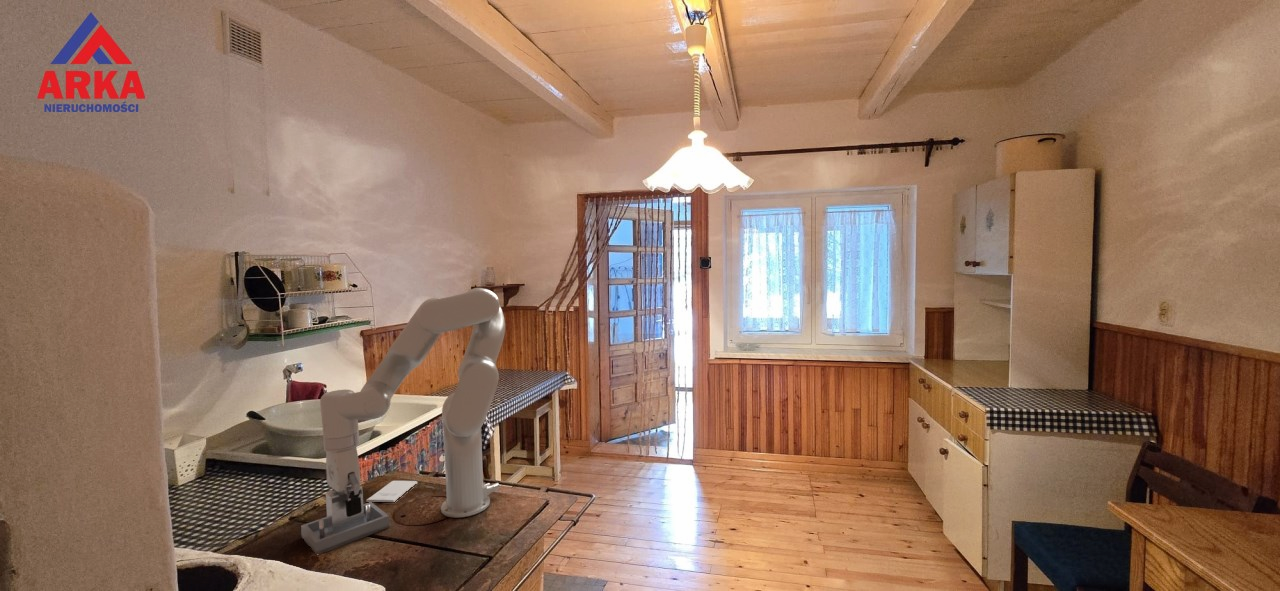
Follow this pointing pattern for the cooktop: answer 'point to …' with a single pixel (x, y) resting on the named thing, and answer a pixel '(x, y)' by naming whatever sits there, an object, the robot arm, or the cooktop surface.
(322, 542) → the tray
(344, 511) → the block
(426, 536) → the cooktop surface
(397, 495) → the external hard drive
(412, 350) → the robot arm
